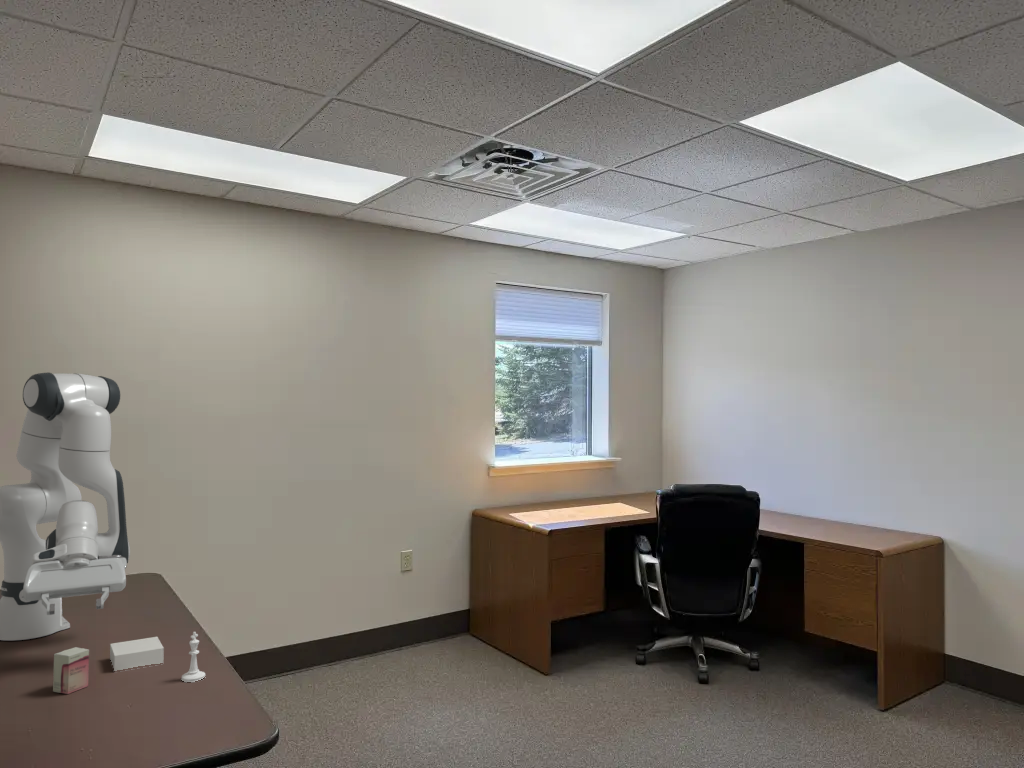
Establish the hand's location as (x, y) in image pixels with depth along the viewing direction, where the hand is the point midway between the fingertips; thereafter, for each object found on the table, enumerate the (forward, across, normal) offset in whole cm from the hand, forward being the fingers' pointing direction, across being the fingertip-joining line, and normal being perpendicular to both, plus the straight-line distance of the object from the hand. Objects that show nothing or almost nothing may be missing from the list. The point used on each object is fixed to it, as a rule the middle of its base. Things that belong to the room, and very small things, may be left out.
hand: (75, 610), depth 164 cm
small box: (+17, +1, -2) cm, 17 cm away
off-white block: (+9, -12, -11) cm, 19 cm away
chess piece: (+22, -22, +2) cm, 31 cm away
